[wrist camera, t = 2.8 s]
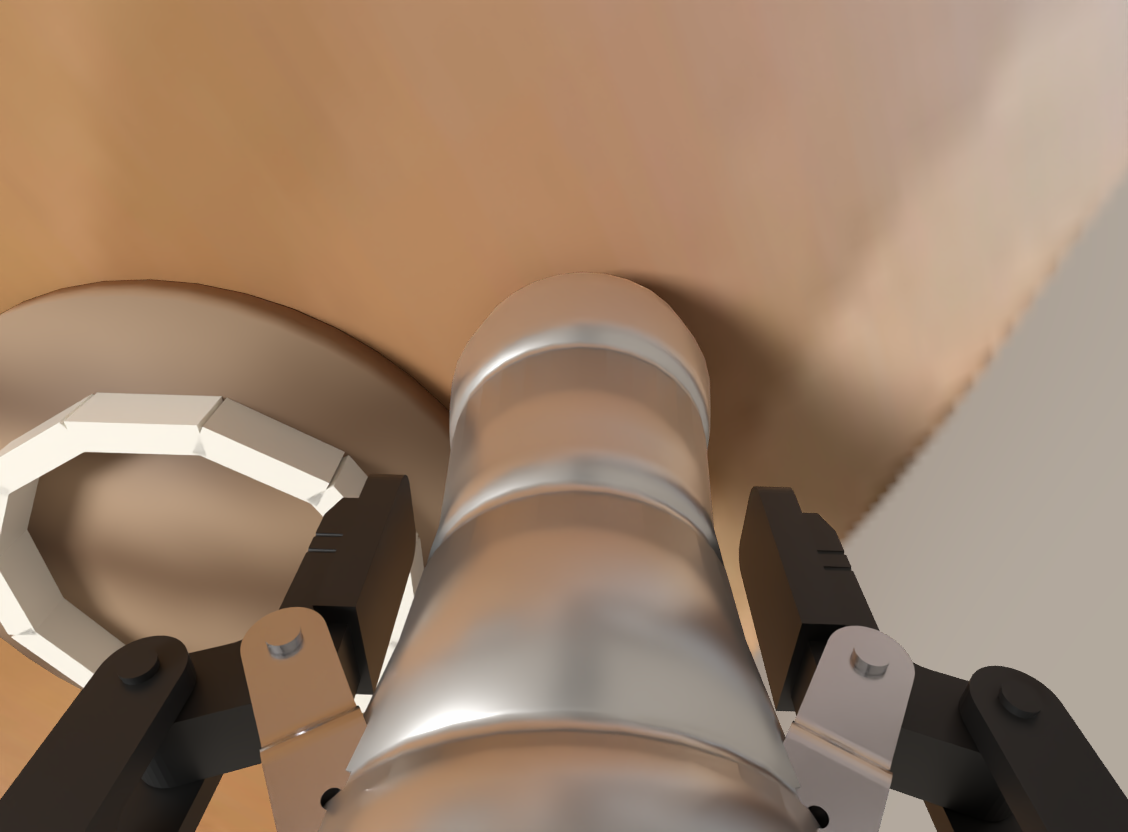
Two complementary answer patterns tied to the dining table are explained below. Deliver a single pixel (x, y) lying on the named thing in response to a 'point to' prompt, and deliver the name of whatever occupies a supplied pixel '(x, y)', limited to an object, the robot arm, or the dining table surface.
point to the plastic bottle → (574, 599)
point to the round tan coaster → (191, 482)
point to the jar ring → (150, 426)
